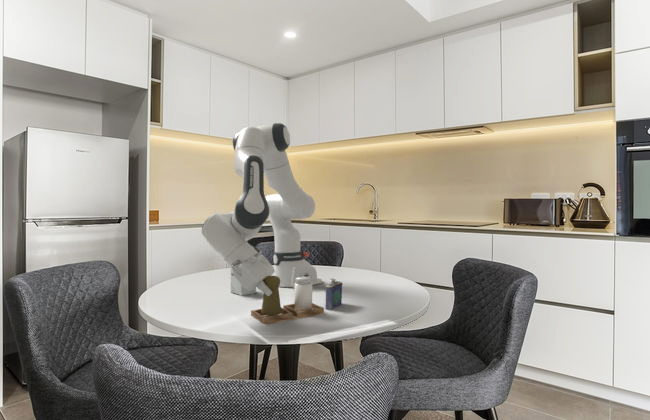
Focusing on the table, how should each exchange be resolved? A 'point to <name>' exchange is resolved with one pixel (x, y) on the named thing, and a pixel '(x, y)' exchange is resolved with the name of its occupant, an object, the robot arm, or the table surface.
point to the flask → (333, 294)
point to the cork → (271, 297)
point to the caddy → (287, 314)
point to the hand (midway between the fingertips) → (273, 292)
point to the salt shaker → (303, 293)
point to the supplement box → (239, 286)
